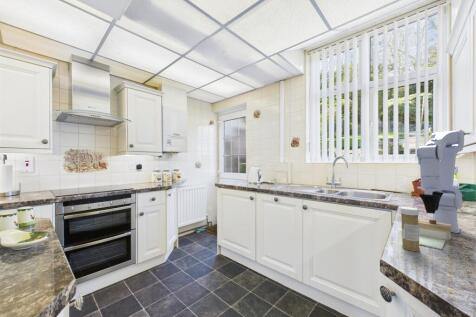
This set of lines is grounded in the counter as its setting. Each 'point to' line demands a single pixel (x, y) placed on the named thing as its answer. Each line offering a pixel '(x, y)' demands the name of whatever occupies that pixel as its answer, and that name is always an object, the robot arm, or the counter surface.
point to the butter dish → (434, 234)
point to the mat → (431, 242)
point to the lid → (435, 226)
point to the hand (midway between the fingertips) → (432, 211)
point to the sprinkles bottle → (410, 228)
